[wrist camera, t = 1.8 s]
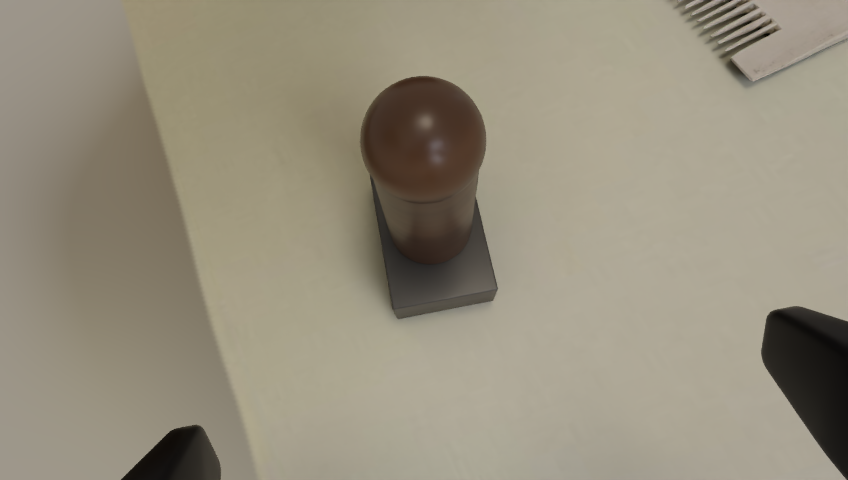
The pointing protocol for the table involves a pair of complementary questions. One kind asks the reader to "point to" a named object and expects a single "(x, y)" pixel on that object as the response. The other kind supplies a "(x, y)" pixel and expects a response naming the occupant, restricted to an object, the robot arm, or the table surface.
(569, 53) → the table surface
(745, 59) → the grooming comb
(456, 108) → the stamp
